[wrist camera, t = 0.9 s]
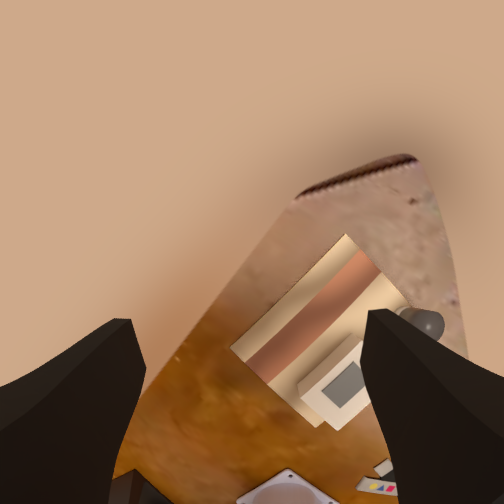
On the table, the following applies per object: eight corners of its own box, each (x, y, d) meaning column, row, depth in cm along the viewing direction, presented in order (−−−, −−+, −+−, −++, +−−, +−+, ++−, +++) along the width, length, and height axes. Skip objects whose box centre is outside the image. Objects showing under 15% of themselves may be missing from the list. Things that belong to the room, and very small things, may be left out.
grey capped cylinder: (419, 318, 26) (449, 325, 20) (402, 337, 26) (429, 350, 20) (403, 300, 27) (432, 304, 21) (386, 320, 27) (412, 329, 21)
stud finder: (383, 366, 26) (397, 377, 22) (330, 415, 26) (337, 432, 22) (351, 332, 27) (362, 340, 23) (297, 384, 27) (300, 399, 23)
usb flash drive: (414, 487, 25) (417, 491, 24) (380, 510, 25) (382, 514, 24) (387, 454, 26) (390, 459, 25) (349, 480, 26) (350, 485, 25)
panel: (422, 320, 27) (424, 321, 26) (315, 426, 27) (315, 427, 26) (344, 234, 28) (345, 233, 28) (230, 346, 28) (229, 347, 27)
